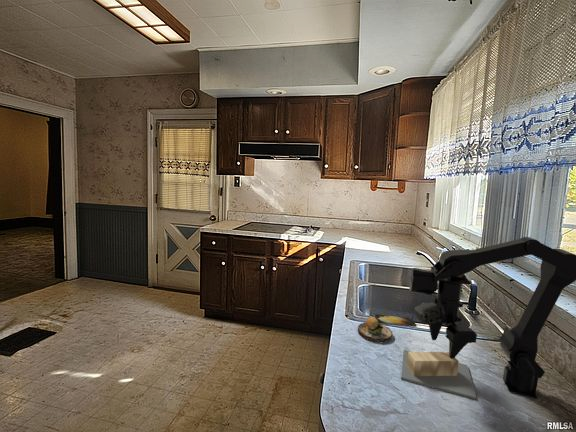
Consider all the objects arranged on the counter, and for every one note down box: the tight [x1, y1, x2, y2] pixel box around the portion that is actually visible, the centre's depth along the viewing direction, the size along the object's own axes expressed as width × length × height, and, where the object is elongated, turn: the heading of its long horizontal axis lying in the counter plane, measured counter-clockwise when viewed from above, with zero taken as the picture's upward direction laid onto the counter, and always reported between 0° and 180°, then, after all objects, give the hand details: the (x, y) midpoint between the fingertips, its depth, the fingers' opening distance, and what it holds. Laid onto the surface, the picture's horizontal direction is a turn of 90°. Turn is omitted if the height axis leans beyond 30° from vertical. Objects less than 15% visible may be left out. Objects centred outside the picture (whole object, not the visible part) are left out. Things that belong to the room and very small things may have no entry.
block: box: [407, 351, 460, 376], centre depth 89 cm, size 4×4×12 cm
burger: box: [357, 316, 393, 344], centre depth 110 cm, size 12×12×8 cm
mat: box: [401, 349, 477, 400], centre depth 90 cm, size 18×15×1 cm
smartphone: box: [373, 313, 418, 328], centre depth 121 cm, size 7×1×15 cm
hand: (442, 348), depth 89 cm, fingers open, 9 cm apart
